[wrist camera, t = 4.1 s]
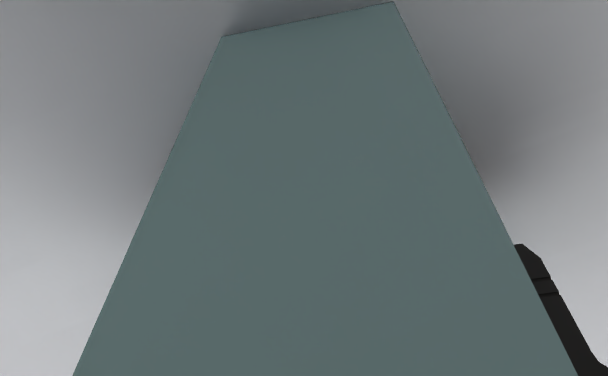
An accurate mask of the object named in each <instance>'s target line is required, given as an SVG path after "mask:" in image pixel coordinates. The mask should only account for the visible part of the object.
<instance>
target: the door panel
mask: <svg viewBox="0 0 608 376" xmlns="http://www.w3.org/2000/svg"><path fill="white" fill-rule="evenodd" d="M73 376H578V375H577V373H576V370H575V368H574V366H573V364H572V362H571V360H570V358H569V356H568V354H567V352H566V350H565V348H564V346H563V344H562V342H561V340H560V338H559V336H558V334H557V332H556V330H555V328H554V326H553V324H552V322H551V320H550V318H549V316H548V314H547V312H546V310H545V308H544V306H543V304H542V302H541V300H540V298H539V296H538V294H537V292H536V289H535V287H534V285H533V283H532V281H531V279H530V277H529V275H528V273H527V271H526V269H525V267H524V265H523V263H522V261H521V259H520V257H519V255H518V253H517V251H516V249H515V247H514V245H513V243H512V241H511V239H510V237H509V235H508V233H507V231H506V229H505V227H504V225H503V223H502V221H501V219H500V217H499V215H498V213H497V211H496V208H495V206H494V204H493V202H492V200H491V198H490V196H489V194H488V192H487V190H486V188H485V186H484V184H483V182H482V180H481V178H480V176H479V174H478V172H477V170H476V168H475V166H474V164H473V162H472V160H471V158H470V156H469V154H468V152H467V150H466V148H465V146H464V144H463V142H462V140H461V138H460V136H459V134H458V132H457V130H456V128H455V125H454V123H453V121H452V119H451V117H450V115H449V113H448V111H447V109H446V107H445V105H444V103H443V101H442V99H441V97H440V95H439V93H438V91H437V89H436V87H435V85H434V83H433V81H432V79H431V77H430V75H429V73H428V71H427V69H426V67H425V65H424V63H423V61H422V59H421V57H420V55H419V53H418V51H417V49H416V47H415V44H414V42H413V40H412V38H411V36H410V34H409V32H408V30H407V28H406V26H405V24H404V22H403V20H402V18H401V16H400V14H399V12H398V10H397V8H396V6H395V4H394V2H390V3H385V4H380V5H375V6H370V7H365V8H360V9H355V10H351V11H346V12H341V13H336V14H331V15H326V16H321V17H317V18H312V19H307V20H302V21H297V22H292V23H287V24H282V25H278V26H273V27H268V28H263V29H258V30H253V31H248V32H244V33H239V34H234V35H229V36H224V37H221V40H220V42H219V44H218V46H217V49H216V51H215V53H214V55H213V58H212V60H211V62H210V65H209V67H208V69H207V71H206V74H205V76H204V78H203V80H202V83H201V85H200V87H199V89H198V92H197V94H196V96H195V99H194V101H193V103H192V105H191V108H190V110H189V112H188V114H187V117H186V119H185V121H184V124H183V126H182V128H181V130H180V133H179V135H178V137H177V139H176V142H175V144H174V146H173V149H172V151H171V153H170V155H169V158H168V160H167V162H166V164H165V167H164V169H163V171H162V174H161V176H160V178H159V180H158V183H157V185H156V187H155V189H154V192H153V194H152V196H151V199H150V201H149V203H148V205H147V208H146V210H145V212H144V214H143V217H142V219H141V221H140V223H139V226H138V228H137V230H136V233H135V235H134V237H133V239H132V242H131V244H130V246H129V248H128V251H127V253H126V255H125V258H124V260H123V262H122V264H121V267H120V269H119V271H118V273H117V276H116V278H115V280H114V283H113V285H112V287H111V289H110V292H109V294H108V296H107V298H106V301H105V303H104V305H103V308H102V310H101V312H100V314H99V317H98V319H97V321H96V323H95V326H94V328H93V330H92V333H91V335H90V337H89V339H88V342H87V344H86V346H85V348H84V351H83V353H82V355H81V357H80V360H79V362H78V364H77V367H76V369H75V371H74V373H73Z"/></svg>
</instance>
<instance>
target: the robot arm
mask: <svg viewBox="0 0 608 376" xmlns="http://www.w3.org/2000/svg"><path fill="white" fill-rule="evenodd" d="M514 247H515V249H516V251H517V253H518V255H519V257H520V259H521V261H522V263H523V265H524V267H525V269H526V271H527V273H528V275H529V277H530V279H531V281H532V283H533V285H534V287H535V289H536V292H537V294H538V296H539V298H540V300H541V302H542V304H543V306H544V308H545V310H546V312H547V314H548V316H549V318H550V320H551V322H552V324H553V326H554V328H555V330H556V332H557V334H558V336H559V338H560V340H561V342H562V344H563V346H564V348H565V350H566V352H567V354H568V356H569V358H570V360H571V362H572V364H573V366H574V368H575V370H576V373H577V375H578V376H608V367H606V366H605V365H603V364H601V363H600V362H599V361H598V360H597V359H596V357H595V356H594V355H593V353H592V352H591V350H590V348H589V346H588V345H587V343H586V341H585V339H584V337H583V335H582V334H581V332H580V330H579V328H578V326H577V324H576V323H575V321H574V319H573V317H572V315H571V313H570V312H569V310H568V308H567V306H566V304H565V302H564V300H563V299H562V297H561V295H559V291H558V289H557V288H556V286H555V284H554V282H553V280H551V278H550V275H549V273H548V271H547V269H546V267H545V265H544V264H543V262H542V260H541V258H540V257H538V256H537V255H536V254H535V253H533V252H532V251H531V250H529V249H528V248H527V247H526V246H524V245H523V244H516V245H514Z"/></svg>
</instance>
